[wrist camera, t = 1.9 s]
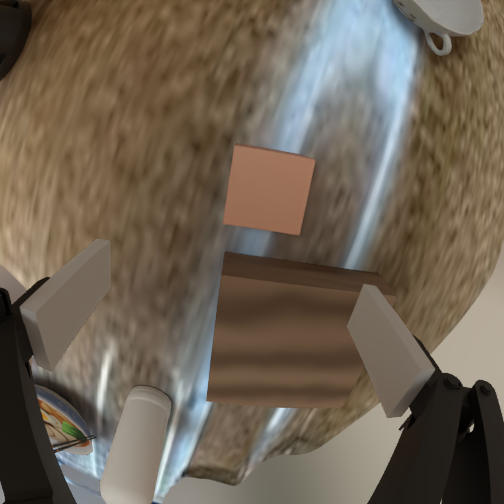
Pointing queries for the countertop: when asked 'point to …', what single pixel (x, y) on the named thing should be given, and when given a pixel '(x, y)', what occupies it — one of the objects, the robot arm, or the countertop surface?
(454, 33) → the teacup
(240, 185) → the terracotta cube
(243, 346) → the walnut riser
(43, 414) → the ramen bowl
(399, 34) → the countertop surface
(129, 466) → the bottle
